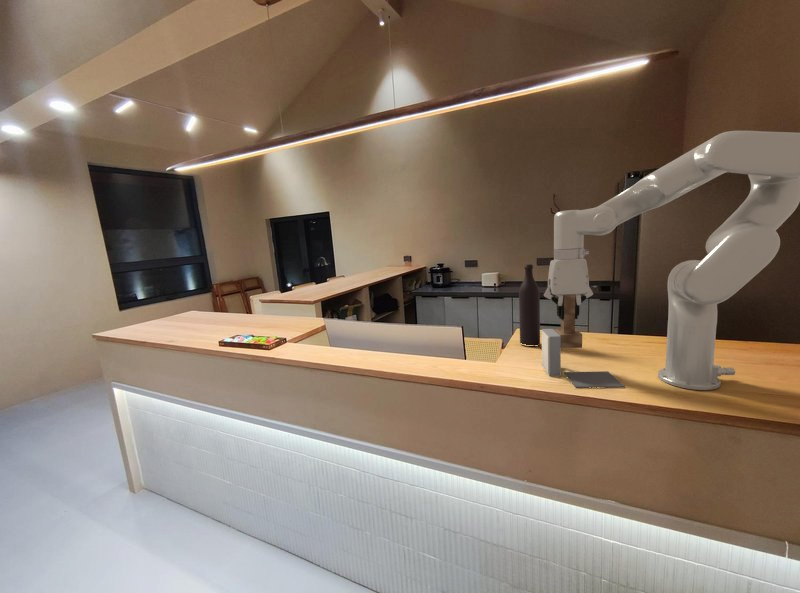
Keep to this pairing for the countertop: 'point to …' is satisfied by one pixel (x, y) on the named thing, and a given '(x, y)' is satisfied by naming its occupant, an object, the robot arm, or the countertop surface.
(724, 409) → the countertop surface
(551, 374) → the tile
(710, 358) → the robot arm
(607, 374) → the mat
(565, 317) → the tamper
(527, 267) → the wine bottle
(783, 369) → the countertop surface
